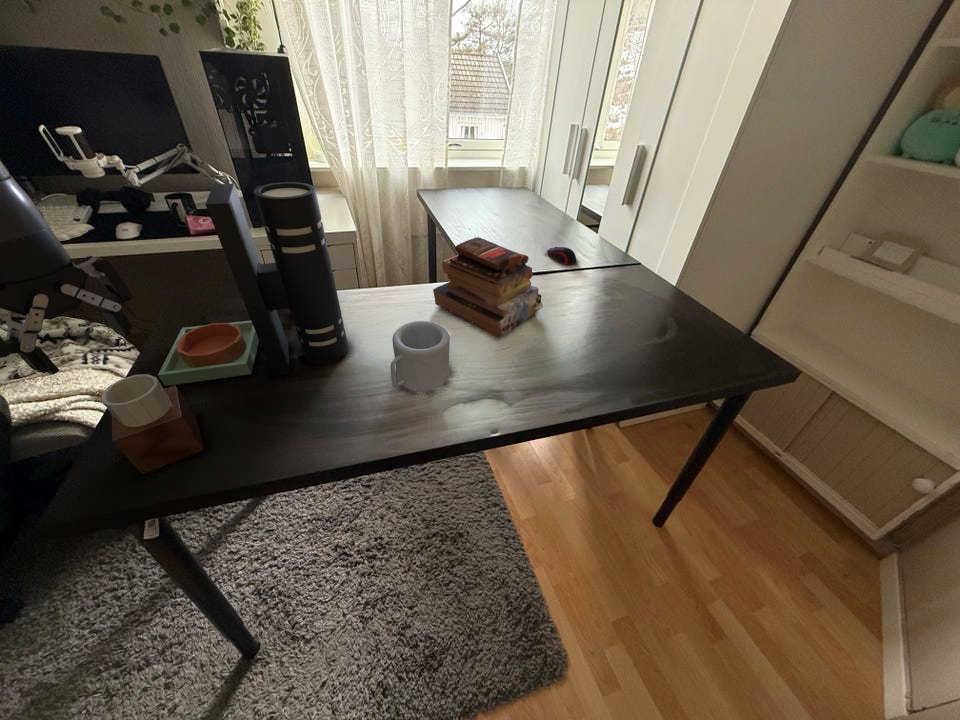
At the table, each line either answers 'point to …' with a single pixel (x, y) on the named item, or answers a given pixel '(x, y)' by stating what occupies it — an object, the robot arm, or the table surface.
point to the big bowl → (211, 345)
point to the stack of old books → (488, 287)
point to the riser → (160, 436)
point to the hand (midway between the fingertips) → (90, 351)
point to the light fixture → (283, 270)
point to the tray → (182, 373)
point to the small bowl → (136, 400)
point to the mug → (420, 356)
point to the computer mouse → (562, 255)
